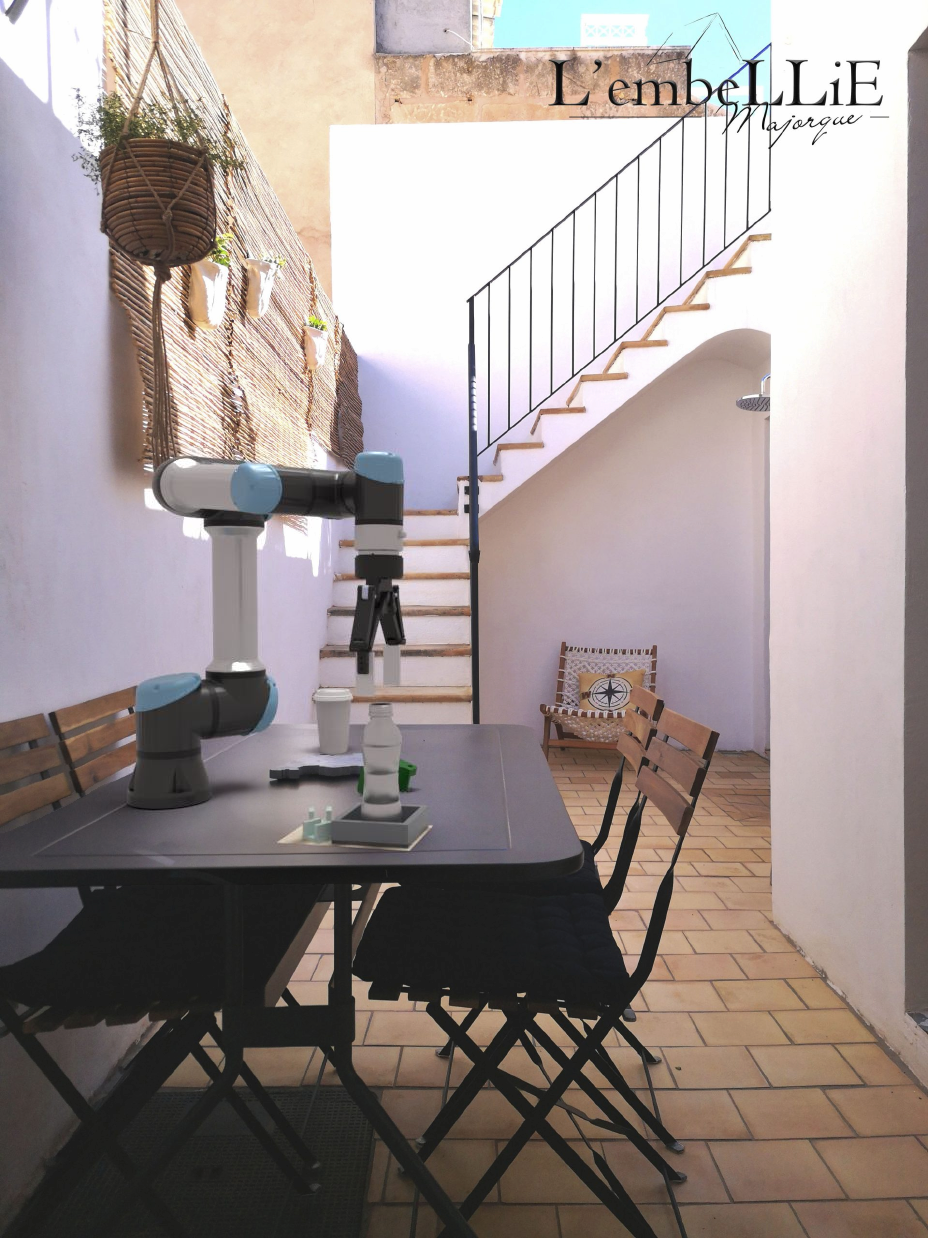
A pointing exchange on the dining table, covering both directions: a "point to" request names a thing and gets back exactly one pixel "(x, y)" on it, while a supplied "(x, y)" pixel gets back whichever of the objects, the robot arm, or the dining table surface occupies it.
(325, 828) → the clip
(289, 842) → the board
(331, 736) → the coffee cup
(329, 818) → the clip
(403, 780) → the clamp
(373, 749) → the plastic bottle
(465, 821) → the dining table surface
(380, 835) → the holder
